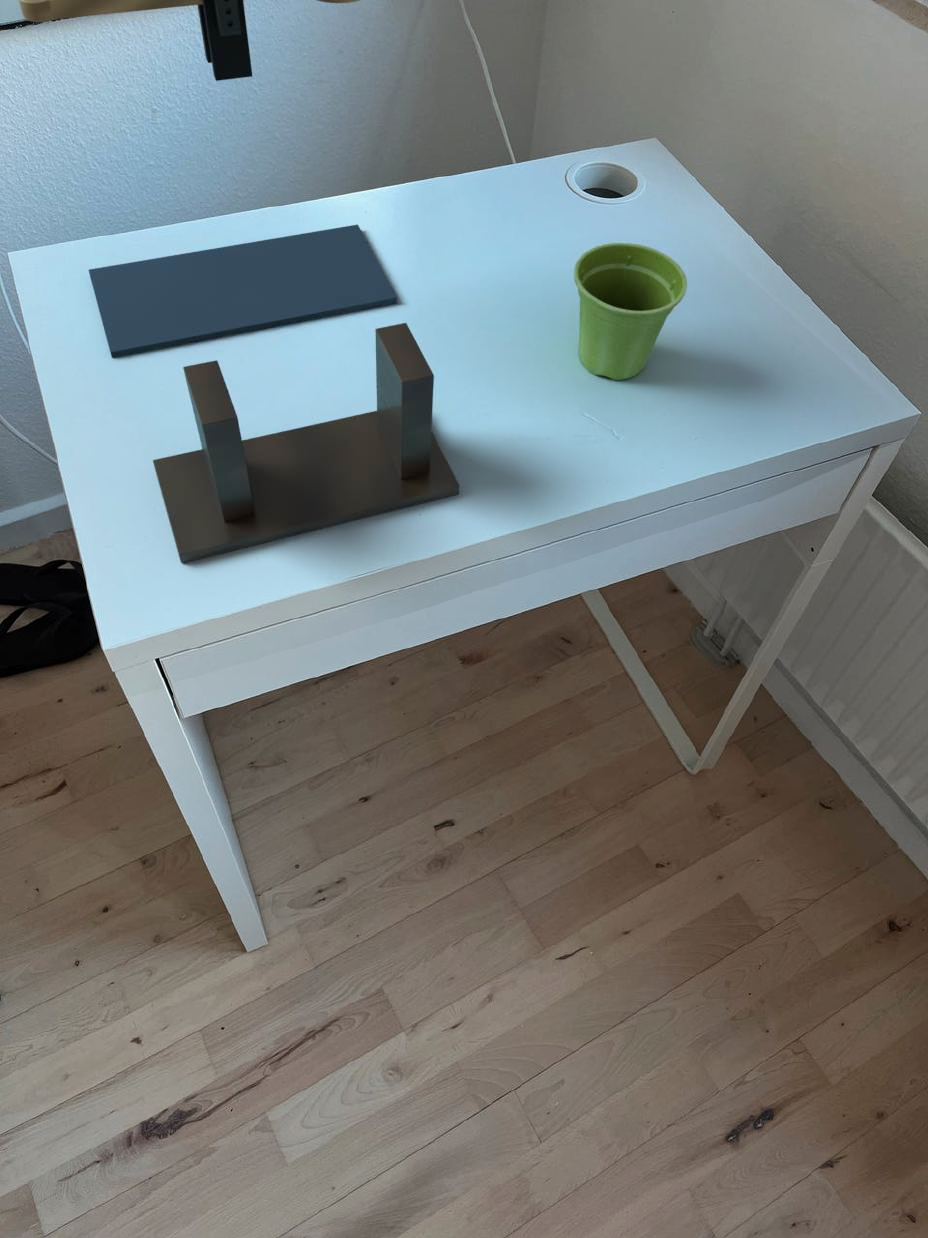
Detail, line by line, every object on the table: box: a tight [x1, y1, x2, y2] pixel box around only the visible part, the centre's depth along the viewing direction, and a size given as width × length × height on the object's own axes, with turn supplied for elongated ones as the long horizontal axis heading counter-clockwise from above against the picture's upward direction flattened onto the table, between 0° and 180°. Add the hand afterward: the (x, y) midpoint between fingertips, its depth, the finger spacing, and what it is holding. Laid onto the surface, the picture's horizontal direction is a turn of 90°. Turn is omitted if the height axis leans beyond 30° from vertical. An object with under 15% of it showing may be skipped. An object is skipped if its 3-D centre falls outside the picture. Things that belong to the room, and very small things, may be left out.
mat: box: [88, 224, 398, 358], centre depth 87 cm, size 26×12×1 cm, turn 111°
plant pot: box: [573, 242, 688, 381], centre depth 81 cm, size 9×9×9 cm
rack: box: [152, 322, 461, 564], centre depth 70 cm, size 22×10×11 cm, turn 111°
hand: (228, 66), depth 70 cm, fingers closed on ladle, 2 cm apart
